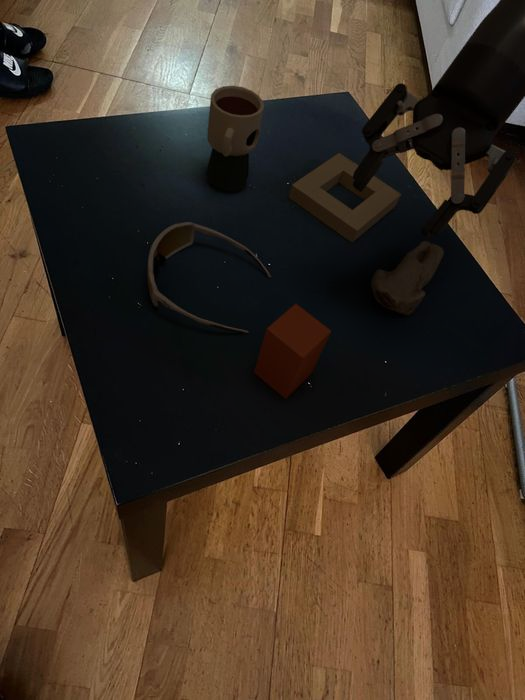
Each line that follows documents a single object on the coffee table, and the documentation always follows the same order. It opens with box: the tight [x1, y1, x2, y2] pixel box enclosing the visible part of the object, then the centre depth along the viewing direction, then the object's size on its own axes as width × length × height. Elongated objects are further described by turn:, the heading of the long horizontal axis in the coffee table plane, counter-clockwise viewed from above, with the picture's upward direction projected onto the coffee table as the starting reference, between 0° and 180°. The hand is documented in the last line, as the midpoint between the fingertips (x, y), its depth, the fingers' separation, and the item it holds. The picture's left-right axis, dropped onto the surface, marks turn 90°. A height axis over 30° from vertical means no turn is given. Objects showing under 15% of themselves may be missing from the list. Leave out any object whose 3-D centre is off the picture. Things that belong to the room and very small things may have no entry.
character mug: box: [205, 85, 265, 192], centre depth 76 cm, size 11×7×13 cm, turn 170°
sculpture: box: [370, 240, 445, 316], centre depth 73 cm, size 7×5×15 cm
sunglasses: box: [146, 221, 272, 334], centre depth 68 cm, size 14×15×5 cm
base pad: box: [288, 152, 402, 244], centre depth 82 cm, size 12×12×2 cm
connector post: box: [253, 303, 332, 400], centre depth 60 cm, size 5×5×9 cm
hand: (389, 211), depth 55 cm, fingers open, 8 cm apart
